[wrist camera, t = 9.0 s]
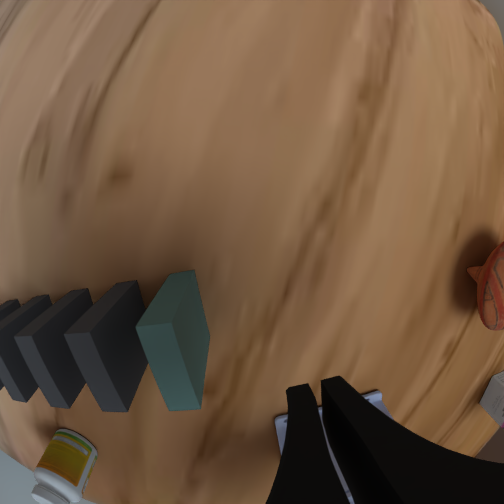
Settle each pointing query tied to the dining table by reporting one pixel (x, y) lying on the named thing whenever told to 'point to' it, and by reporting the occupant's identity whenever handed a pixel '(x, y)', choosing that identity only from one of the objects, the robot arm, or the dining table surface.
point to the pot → (491, 289)
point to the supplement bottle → (64, 469)
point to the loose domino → (177, 341)
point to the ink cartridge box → (495, 398)
